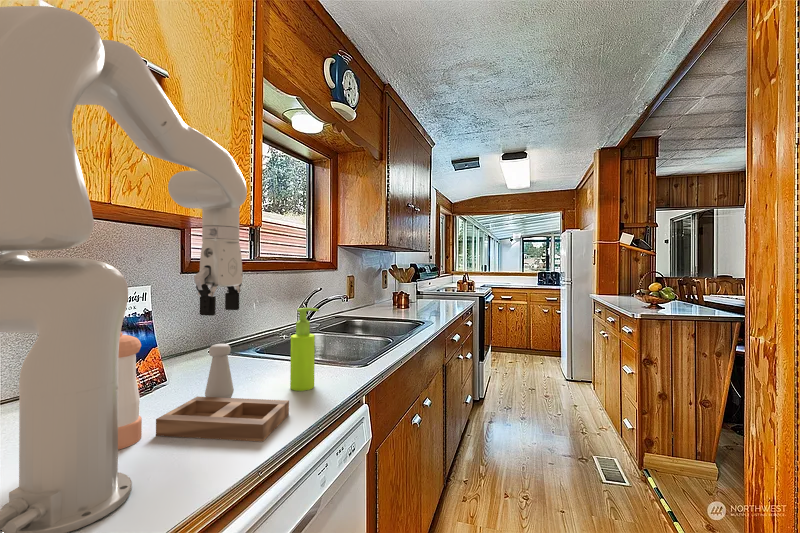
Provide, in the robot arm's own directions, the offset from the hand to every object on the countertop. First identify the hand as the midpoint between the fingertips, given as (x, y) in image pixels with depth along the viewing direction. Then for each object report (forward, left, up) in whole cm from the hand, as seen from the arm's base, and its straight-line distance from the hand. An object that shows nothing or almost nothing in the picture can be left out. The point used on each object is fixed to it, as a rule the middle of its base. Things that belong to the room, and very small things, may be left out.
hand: (220, 312), depth 86 cm
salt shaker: (0, 0, -20) cm, 20 cm away
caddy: (-11, -8, -20) cm, 24 cm away
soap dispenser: (+13, -15, -20) cm, 28 cm away
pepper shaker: (-20, +7, -20) cm, 29 cm away
